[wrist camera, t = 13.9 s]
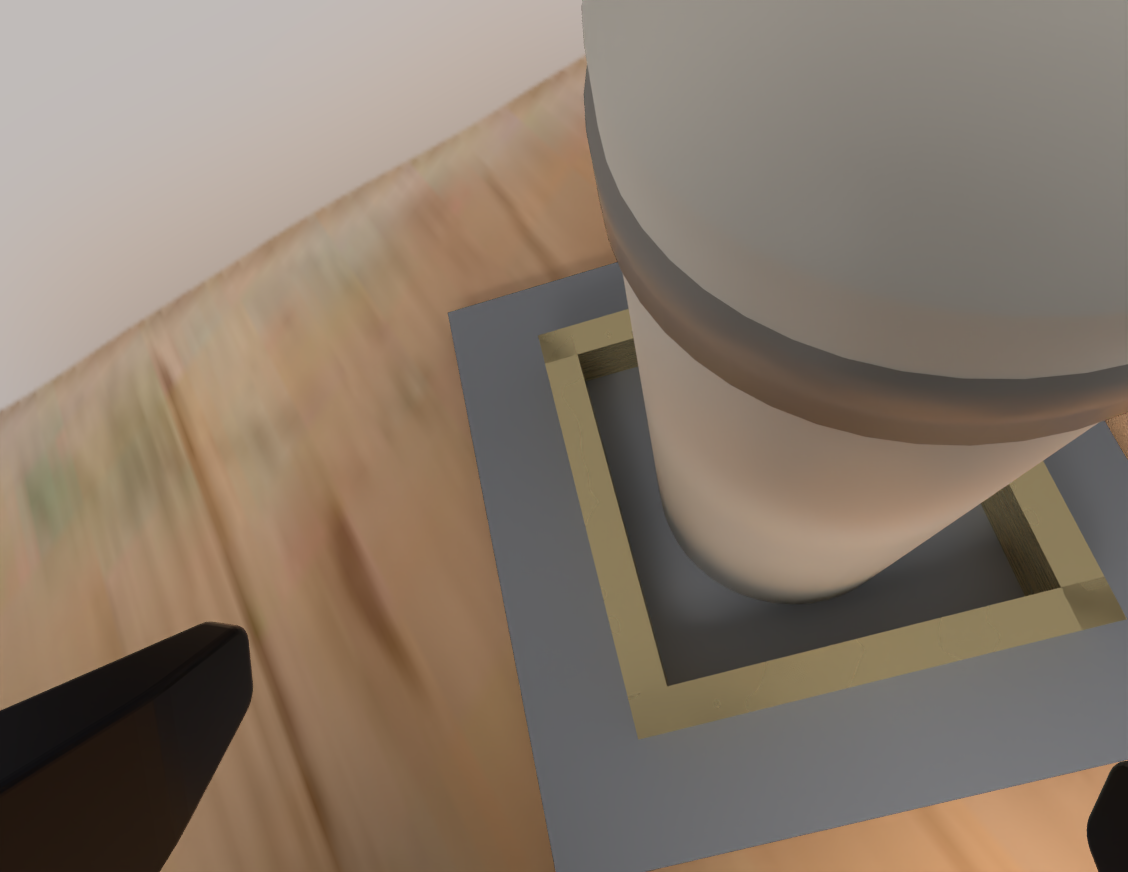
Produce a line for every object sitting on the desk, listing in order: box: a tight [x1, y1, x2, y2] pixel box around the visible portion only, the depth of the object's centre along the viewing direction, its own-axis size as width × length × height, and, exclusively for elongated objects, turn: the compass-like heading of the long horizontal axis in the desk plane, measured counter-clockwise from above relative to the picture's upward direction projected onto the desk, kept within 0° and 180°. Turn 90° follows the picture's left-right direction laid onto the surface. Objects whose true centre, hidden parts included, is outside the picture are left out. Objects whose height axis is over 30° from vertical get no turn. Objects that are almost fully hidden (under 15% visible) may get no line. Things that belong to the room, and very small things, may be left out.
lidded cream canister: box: [582, 0, 1128, 605], centre depth 11 cm, size 6×6×12 cm
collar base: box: [448, 262, 1128, 872], centre depth 16 cm, size 14×14×2 cm
